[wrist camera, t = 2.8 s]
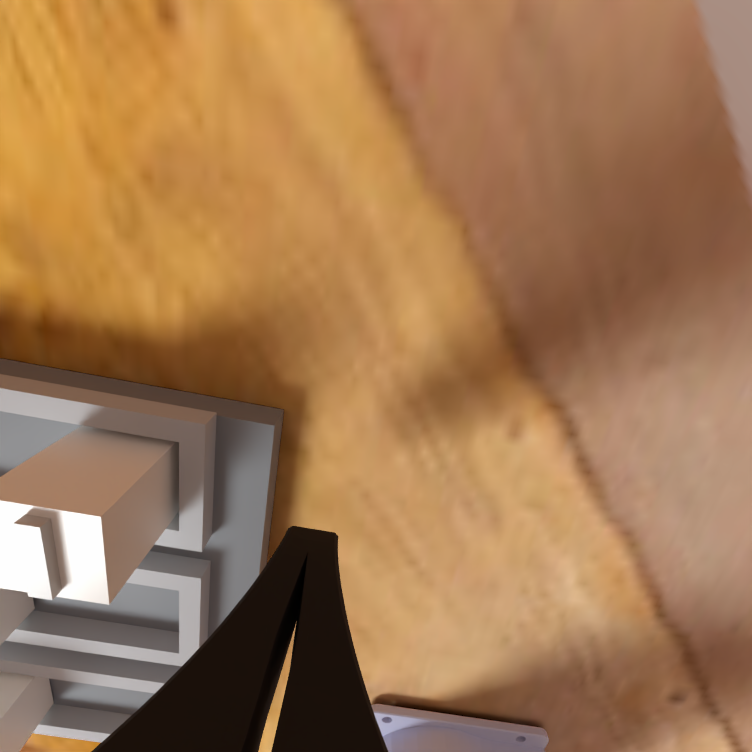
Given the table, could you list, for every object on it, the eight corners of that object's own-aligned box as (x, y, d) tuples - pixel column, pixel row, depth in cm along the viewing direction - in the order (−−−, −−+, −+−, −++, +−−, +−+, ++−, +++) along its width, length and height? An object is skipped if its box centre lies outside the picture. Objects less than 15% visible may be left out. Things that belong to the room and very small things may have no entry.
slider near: (180, 437, 12) (91, 525, 9) (180, 508, 13) (101, 615, 10) (88, 420, 12) (-43, 504, 8) (95, 494, 13) (-19, 597, 9)
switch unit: (284, 407, 13) (267, 435, 11) (249, 710, 20) (235, 760, 18) (-156, 327, 13) (-251, 343, 11) (-43, 669, 19) (-89, 716, 17)
